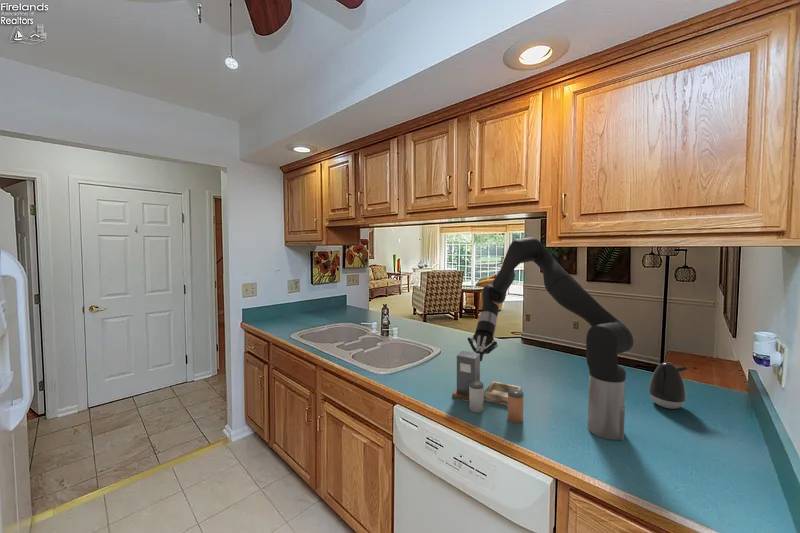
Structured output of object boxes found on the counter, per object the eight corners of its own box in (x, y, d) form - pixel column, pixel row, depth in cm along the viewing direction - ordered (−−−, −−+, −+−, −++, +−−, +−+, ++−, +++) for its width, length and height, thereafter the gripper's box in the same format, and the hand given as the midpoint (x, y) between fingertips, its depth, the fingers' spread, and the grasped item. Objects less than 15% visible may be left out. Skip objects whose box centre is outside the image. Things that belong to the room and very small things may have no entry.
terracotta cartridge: (524, 417, 109) (524, 390, 108) (521, 424, 104) (522, 397, 104) (509, 413, 111) (509, 387, 110) (506, 420, 107) (506, 393, 106)
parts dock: (521, 394, 124) (521, 386, 124) (515, 407, 115) (515, 399, 115) (492, 388, 130) (492, 380, 130) (484, 400, 120) (484, 392, 120)
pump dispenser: (692, 414, 109) (694, 370, 108) (654, 409, 112) (656, 366, 111) (678, 400, 118) (680, 359, 117) (643, 396, 122) (645, 356, 121)
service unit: (483, 391, 127) (484, 352, 126) (475, 402, 118) (476, 360, 117) (461, 386, 132) (461, 348, 130) (452, 397, 123) (452, 356, 122)
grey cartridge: (485, 407, 115) (485, 382, 114) (481, 413, 111) (480, 388, 110) (472, 404, 118) (471, 379, 117) (467, 410, 114) (467, 384, 113)
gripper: (469, 318, 143) (459, 354, 133) (500, 321, 136) (492, 359, 126) (473, 327, 148) (464, 362, 138) (503, 331, 141) (496, 368, 131)
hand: (477, 361), depth 132 cm, fingers closed
